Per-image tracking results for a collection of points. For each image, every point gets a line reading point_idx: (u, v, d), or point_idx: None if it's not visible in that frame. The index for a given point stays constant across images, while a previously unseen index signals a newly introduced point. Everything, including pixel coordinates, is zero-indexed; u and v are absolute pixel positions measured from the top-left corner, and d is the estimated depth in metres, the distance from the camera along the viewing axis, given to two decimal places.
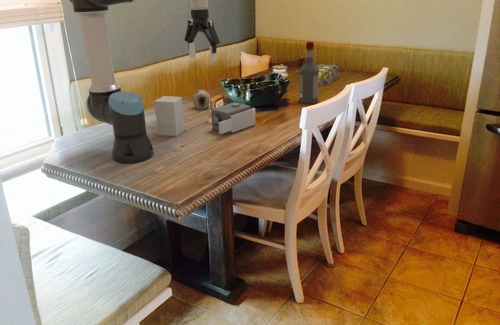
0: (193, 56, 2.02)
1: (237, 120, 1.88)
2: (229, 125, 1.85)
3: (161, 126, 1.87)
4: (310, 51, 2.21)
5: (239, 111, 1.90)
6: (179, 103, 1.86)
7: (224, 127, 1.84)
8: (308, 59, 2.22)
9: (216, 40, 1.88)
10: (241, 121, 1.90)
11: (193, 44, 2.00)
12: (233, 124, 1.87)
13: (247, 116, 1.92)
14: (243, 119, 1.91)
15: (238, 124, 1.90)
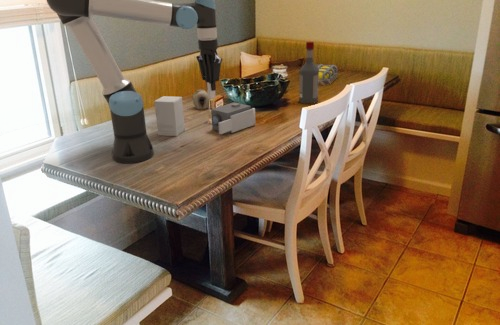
0: None
1: (237, 120, 1.88)
2: (229, 125, 1.85)
3: (161, 126, 1.87)
4: (310, 51, 2.21)
5: (239, 111, 1.90)
6: (179, 103, 1.86)
7: (224, 127, 1.84)
8: (308, 59, 2.22)
9: (216, 78, 1.77)
10: (241, 121, 1.90)
11: None
12: (233, 124, 1.87)
13: (247, 116, 1.92)
14: (243, 119, 1.91)
15: (238, 124, 1.90)
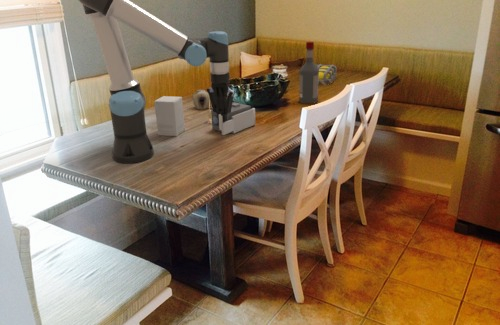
0: None
1: (238, 120, 1.88)
2: (231, 126, 1.85)
3: (161, 126, 1.87)
4: (310, 51, 2.21)
5: (239, 111, 1.90)
6: (179, 103, 1.86)
7: (227, 128, 1.83)
8: (308, 59, 2.22)
9: (229, 110, 1.80)
10: (242, 121, 1.90)
11: None
12: (235, 124, 1.87)
13: (248, 116, 1.92)
14: (244, 119, 1.91)
15: (239, 124, 1.89)
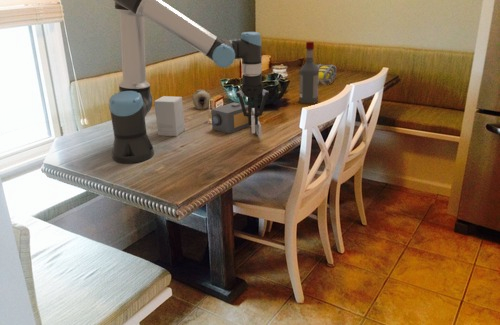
0: None
1: None
2: None
3: (161, 126, 1.87)
4: (310, 51, 2.21)
5: (239, 111, 1.90)
6: (179, 103, 1.86)
7: None
8: (308, 59, 2.22)
9: None
10: None
11: None
12: None
13: None
14: None
15: None
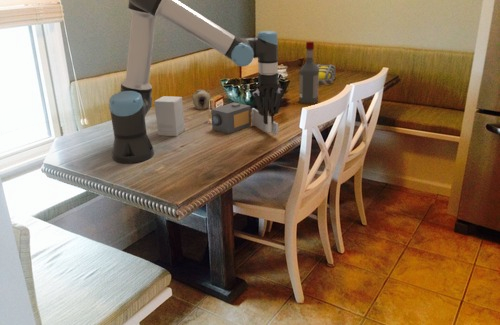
0: None
1: None
2: None
3: (161, 126, 1.87)
4: (310, 51, 2.21)
5: (239, 111, 1.90)
6: (179, 103, 1.86)
7: None
8: (308, 59, 2.22)
9: None
10: None
11: None
12: None
13: None
14: None
15: None
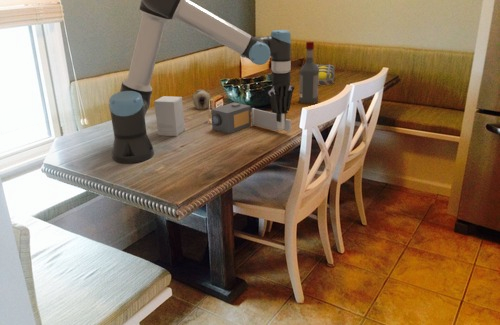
0: None
1: None
2: None
3: (161, 126, 1.87)
4: (310, 51, 2.21)
5: (239, 111, 1.90)
6: (179, 103, 1.86)
7: None
8: (308, 59, 2.22)
9: None
10: None
11: None
12: None
13: None
14: None
15: None
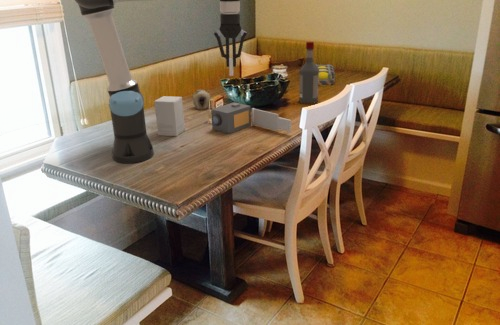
0: None
1: None
2: None
3: (161, 126, 1.87)
4: (310, 51, 2.21)
5: (239, 111, 1.90)
6: (179, 103, 1.86)
7: None
8: (308, 59, 2.22)
9: (240, 53, 1.75)
10: None
11: None
12: None
13: None
14: None
15: None
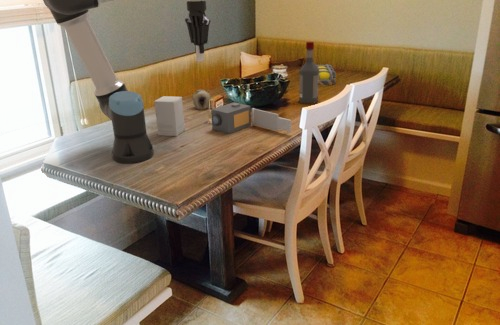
0: None
1: None
2: None
3: (161, 126, 1.87)
4: (310, 51, 2.21)
5: (239, 111, 1.90)
6: (179, 103, 1.86)
7: None
8: (308, 59, 2.22)
9: (204, 40, 1.78)
10: None
11: None
12: None
13: None
14: None
15: None
